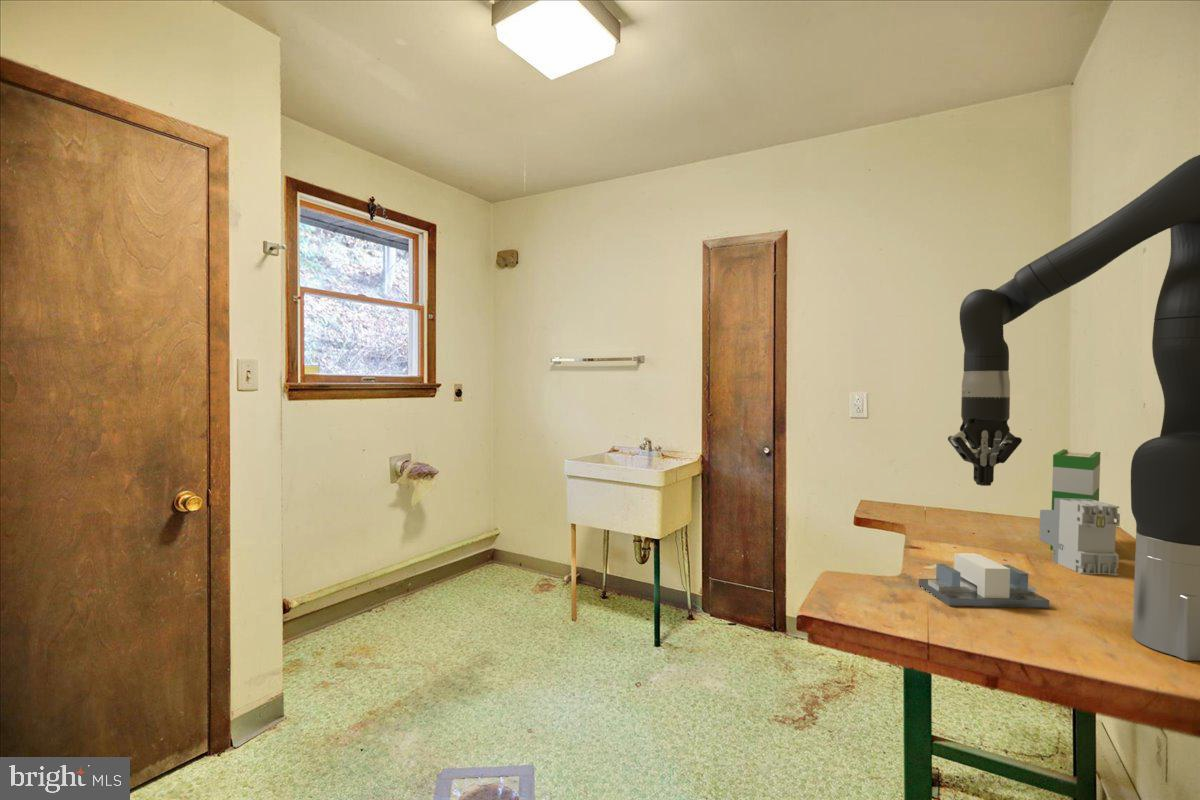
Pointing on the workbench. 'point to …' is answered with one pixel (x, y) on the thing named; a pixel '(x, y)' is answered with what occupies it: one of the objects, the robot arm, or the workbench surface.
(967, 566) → the block
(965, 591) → the rail mount
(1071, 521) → the circuit breaker
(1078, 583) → the workbench surface
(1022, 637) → the workbench surface
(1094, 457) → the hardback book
